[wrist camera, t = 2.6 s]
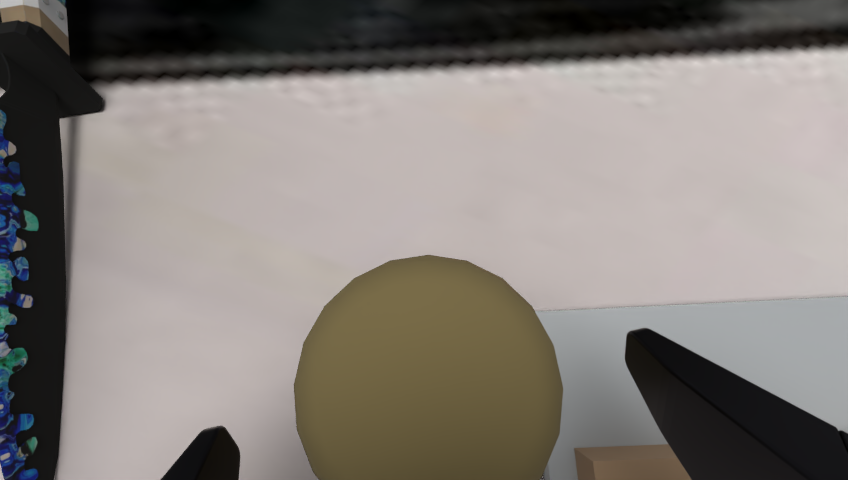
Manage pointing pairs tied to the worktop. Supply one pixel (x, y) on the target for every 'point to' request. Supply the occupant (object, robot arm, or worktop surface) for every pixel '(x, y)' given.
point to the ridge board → (705, 335)
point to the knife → (33, 230)
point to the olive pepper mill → (428, 378)
